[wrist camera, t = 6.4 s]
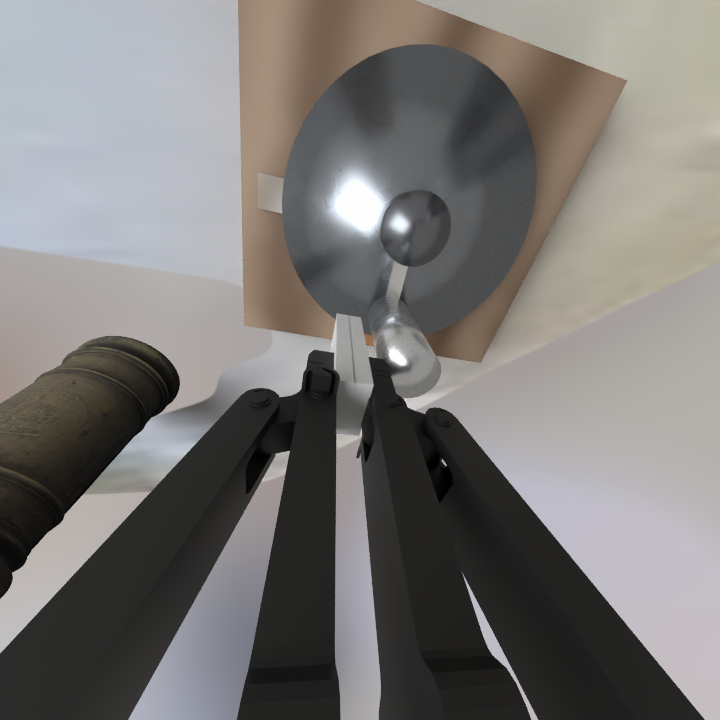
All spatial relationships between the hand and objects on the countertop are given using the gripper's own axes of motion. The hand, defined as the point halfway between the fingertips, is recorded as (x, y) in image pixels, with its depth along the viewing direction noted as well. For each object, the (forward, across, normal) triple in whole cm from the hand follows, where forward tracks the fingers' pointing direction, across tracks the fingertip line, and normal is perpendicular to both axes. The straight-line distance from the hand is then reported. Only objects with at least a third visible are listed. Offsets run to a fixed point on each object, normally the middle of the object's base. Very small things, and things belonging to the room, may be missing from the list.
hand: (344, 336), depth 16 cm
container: (+10, -20, -13) cm, 26 cm away
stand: (+10, +3, +6) cm, 12 cm away
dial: (+7, +3, +6) cm, 10 cm away
